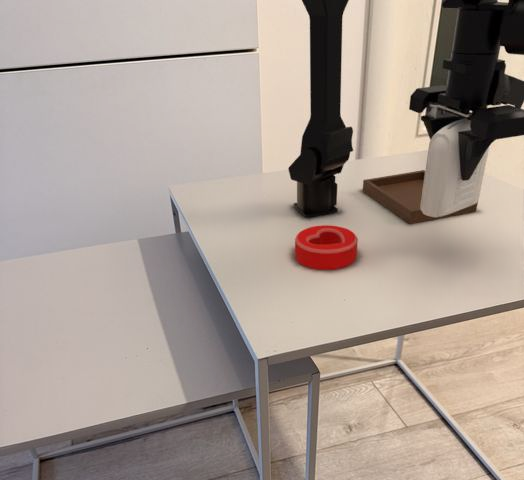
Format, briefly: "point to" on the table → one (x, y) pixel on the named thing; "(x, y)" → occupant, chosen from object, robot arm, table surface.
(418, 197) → the tray
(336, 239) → the decorative ornament
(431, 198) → the photo printer
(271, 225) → the table surface
